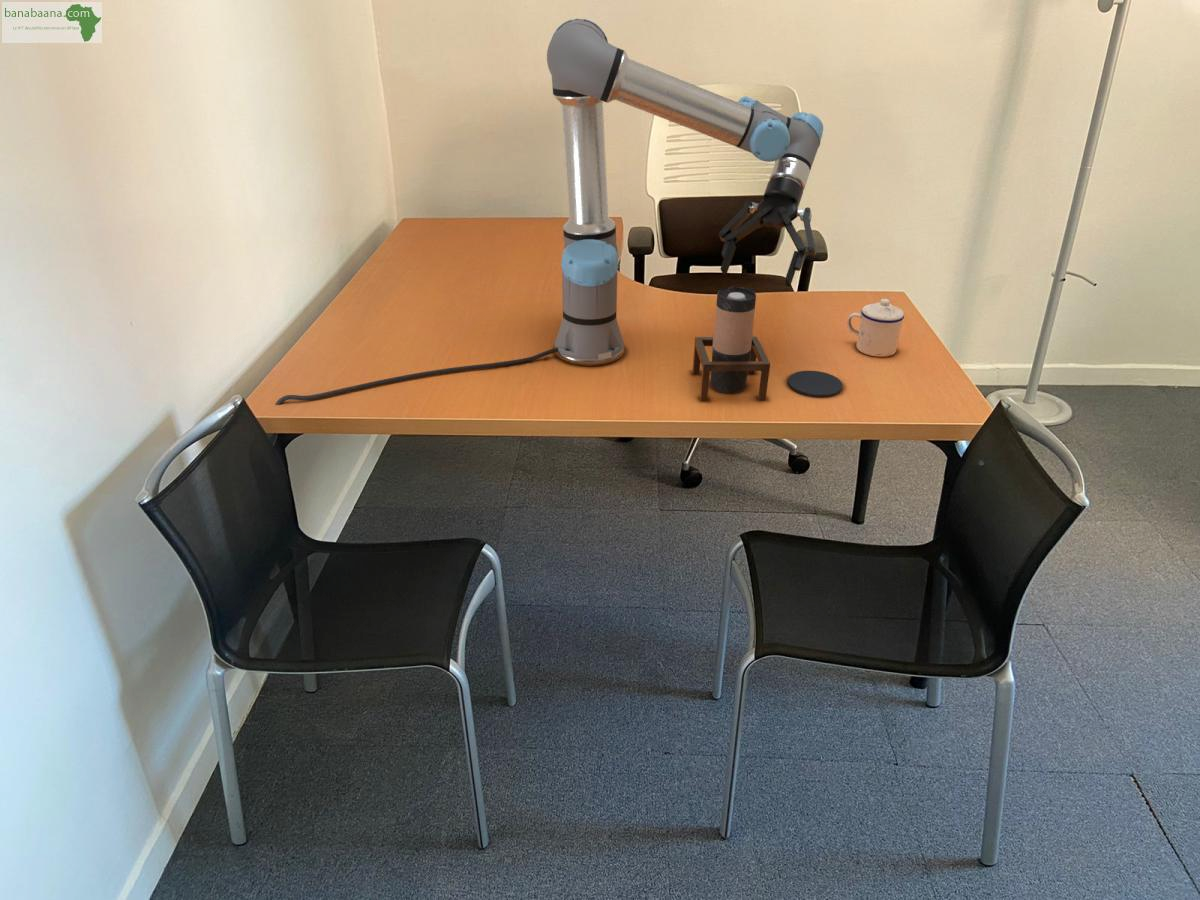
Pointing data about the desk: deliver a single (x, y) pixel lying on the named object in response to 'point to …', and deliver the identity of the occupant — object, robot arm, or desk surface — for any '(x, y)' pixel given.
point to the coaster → (815, 383)
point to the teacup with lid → (878, 328)
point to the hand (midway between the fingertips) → (754, 277)
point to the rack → (730, 365)
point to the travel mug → (732, 336)
